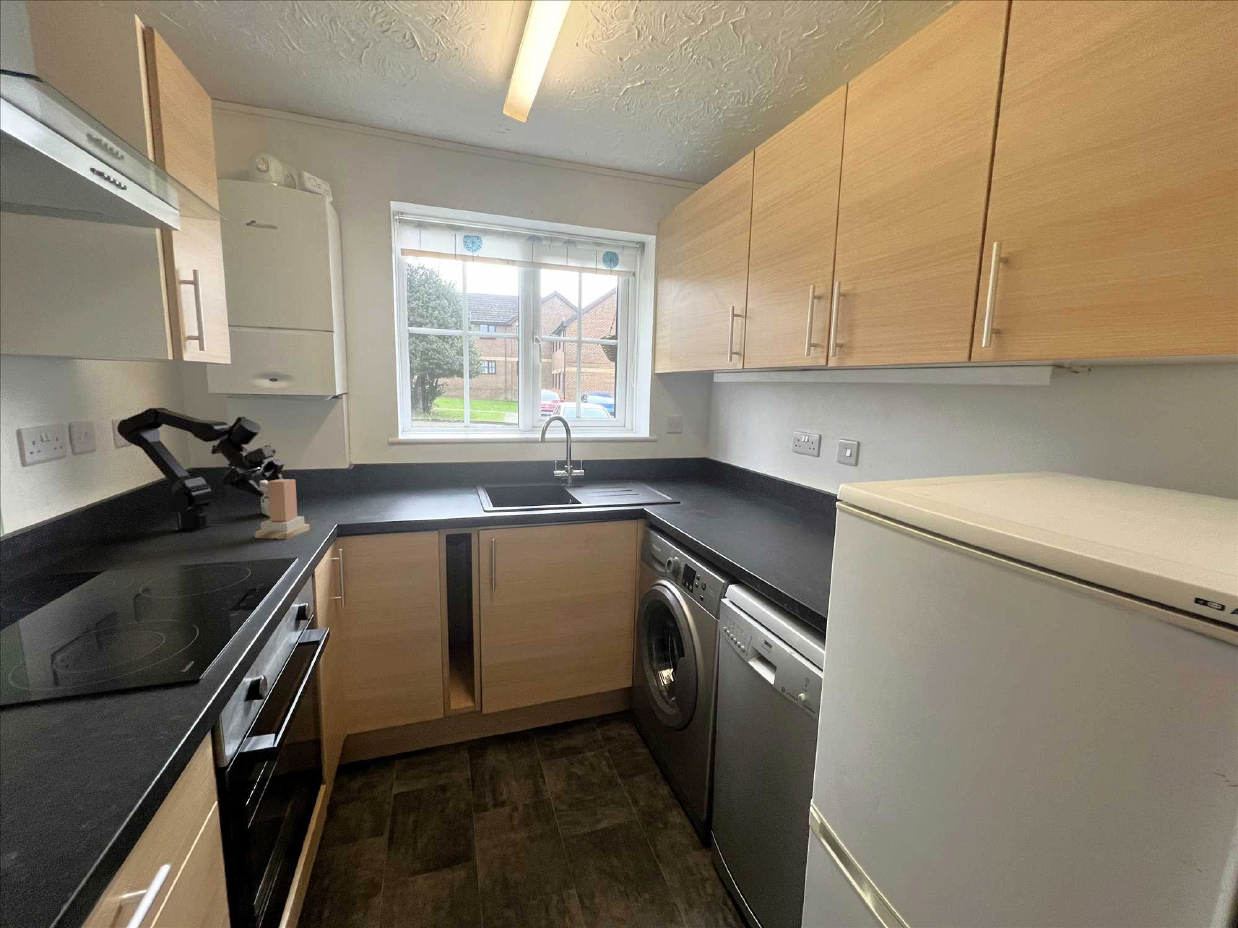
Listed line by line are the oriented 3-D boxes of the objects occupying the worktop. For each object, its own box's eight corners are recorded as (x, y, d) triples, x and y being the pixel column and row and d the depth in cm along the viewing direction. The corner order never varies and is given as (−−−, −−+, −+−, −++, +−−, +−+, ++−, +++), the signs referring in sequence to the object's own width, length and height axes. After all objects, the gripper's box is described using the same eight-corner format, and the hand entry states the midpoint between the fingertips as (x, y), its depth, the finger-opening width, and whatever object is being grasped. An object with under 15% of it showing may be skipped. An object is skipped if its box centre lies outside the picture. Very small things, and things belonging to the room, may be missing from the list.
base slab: (255, 539, 153) (254, 531, 152) (279, 530, 163) (279, 522, 162) (287, 541, 152) (286, 533, 152) (309, 531, 162) (309, 524, 161)
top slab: (261, 530, 153) (260, 522, 153) (279, 523, 161) (279, 516, 161) (287, 531, 153) (286, 523, 153) (304, 524, 161) (304, 516, 160)
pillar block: (270, 520, 154) (267, 481, 153) (281, 517, 159) (279, 479, 158) (285, 521, 154) (283, 481, 153) (297, 517, 159) (295, 479, 158)
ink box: (261, 513, 180) (258, 480, 178) (277, 510, 184) (274, 478, 182) (270, 517, 175) (268, 483, 173) (287, 514, 179) (284, 481, 177)
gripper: (227, 440, 144) (267, 480, 145) (277, 434, 162) (312, 470, 163) (204, 466, 146) (243, 506, 147) (255, 457, 164) (290, 493, 165)
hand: (274, 492), depth 155 cm, fingers open, 9 cm apart
